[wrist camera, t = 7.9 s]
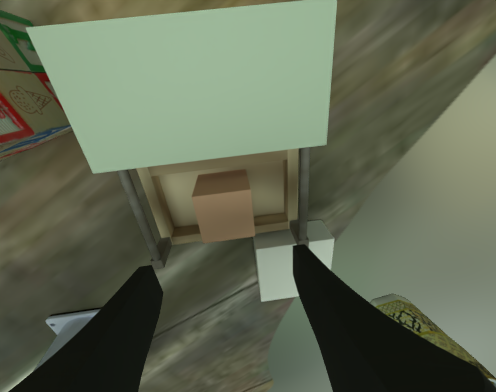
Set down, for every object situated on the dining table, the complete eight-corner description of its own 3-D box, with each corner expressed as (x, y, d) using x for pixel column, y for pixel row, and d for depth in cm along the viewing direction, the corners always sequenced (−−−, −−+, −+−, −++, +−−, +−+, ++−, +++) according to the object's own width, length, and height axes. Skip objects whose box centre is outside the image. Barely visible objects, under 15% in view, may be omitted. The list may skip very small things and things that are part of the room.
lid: (318, 139, 13) (326, 144, 12) (104, 165, 12) (93, 173, 11) (325, 6, 10) (337, -3, 9) (47, 33, 10) (25, 27, 8)
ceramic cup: (381, 276, 27) (459, 372, 18) (433, 295, 29) (522, 386, 21) (320, 336, 32) (358, 434, 23) (370, 347, 34) (420, 438, 26)
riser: (317, 269, 25) (328, 291, 22) (257, 278, 25) (261, 301, 22) (321, 219, 22) (334, 238, 19) (252, 229, 21) (255, 249, 19)
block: (250, 209, 20) (255, 236, 16) (207, 215, 20) (203, 243, 16) (245, 168, 18) (250, 189, 15) (198, 174, 18) (191, 197, 14)
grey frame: (296, 216, 21) (313, 247, 17) (163, 234, 21) (148, 270, 17) (298, 55, 15) (325, 44, 11) (108, 75, 14) (62, 72, 10)
